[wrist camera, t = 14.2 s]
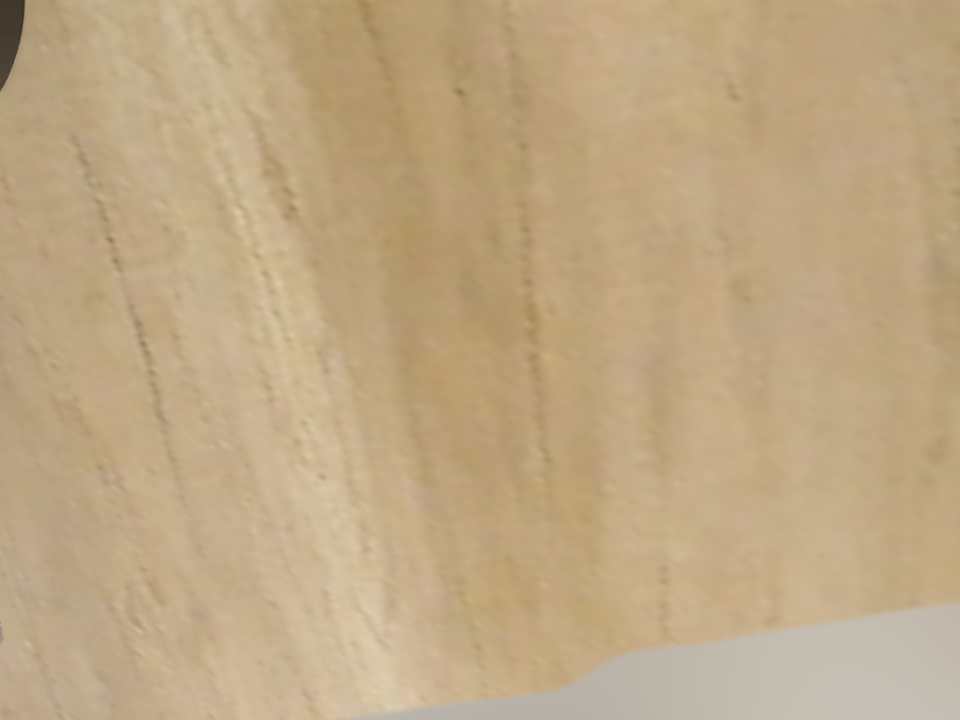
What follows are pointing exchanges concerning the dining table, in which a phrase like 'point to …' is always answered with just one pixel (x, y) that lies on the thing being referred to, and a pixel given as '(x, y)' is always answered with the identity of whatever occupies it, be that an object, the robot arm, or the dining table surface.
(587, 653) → the dining table surface
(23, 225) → the dining table surface
